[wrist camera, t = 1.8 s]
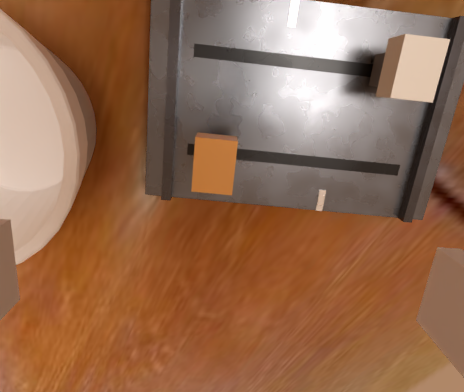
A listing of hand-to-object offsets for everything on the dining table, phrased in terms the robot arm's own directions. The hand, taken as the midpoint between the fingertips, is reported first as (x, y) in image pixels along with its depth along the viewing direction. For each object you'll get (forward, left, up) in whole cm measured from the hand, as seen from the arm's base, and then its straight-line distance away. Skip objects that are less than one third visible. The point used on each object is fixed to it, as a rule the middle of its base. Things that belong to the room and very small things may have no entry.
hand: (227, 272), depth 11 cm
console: (-4, +6, -22) cm, 23 cm away
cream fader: (-8, +12, -20) cm, 25 cm away
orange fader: (0, -1, -20) cm, 20 cm away
